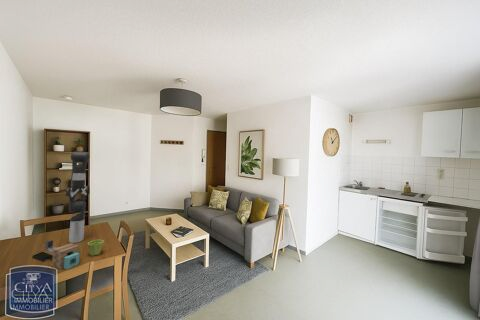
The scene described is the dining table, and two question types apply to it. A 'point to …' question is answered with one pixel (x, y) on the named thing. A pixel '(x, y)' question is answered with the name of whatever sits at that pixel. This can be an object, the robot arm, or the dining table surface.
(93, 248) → the plant pot
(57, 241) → the dining table surface
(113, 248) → the dining table surface
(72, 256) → the teal toy camera
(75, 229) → the robot arm
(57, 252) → the bearing block
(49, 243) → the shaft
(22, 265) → the dining table surface
